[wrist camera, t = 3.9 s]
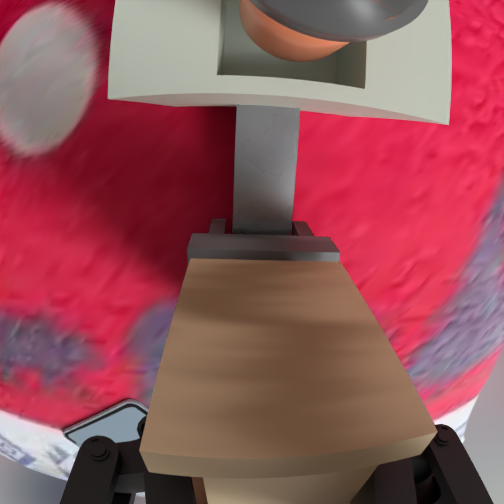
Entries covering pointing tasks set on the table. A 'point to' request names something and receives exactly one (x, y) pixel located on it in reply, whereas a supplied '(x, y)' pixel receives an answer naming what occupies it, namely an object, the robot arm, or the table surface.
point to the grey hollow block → (276, 64)
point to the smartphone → (110, 423)
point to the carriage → (277, 376)
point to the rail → (264, 169)
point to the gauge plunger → (322, 24)
